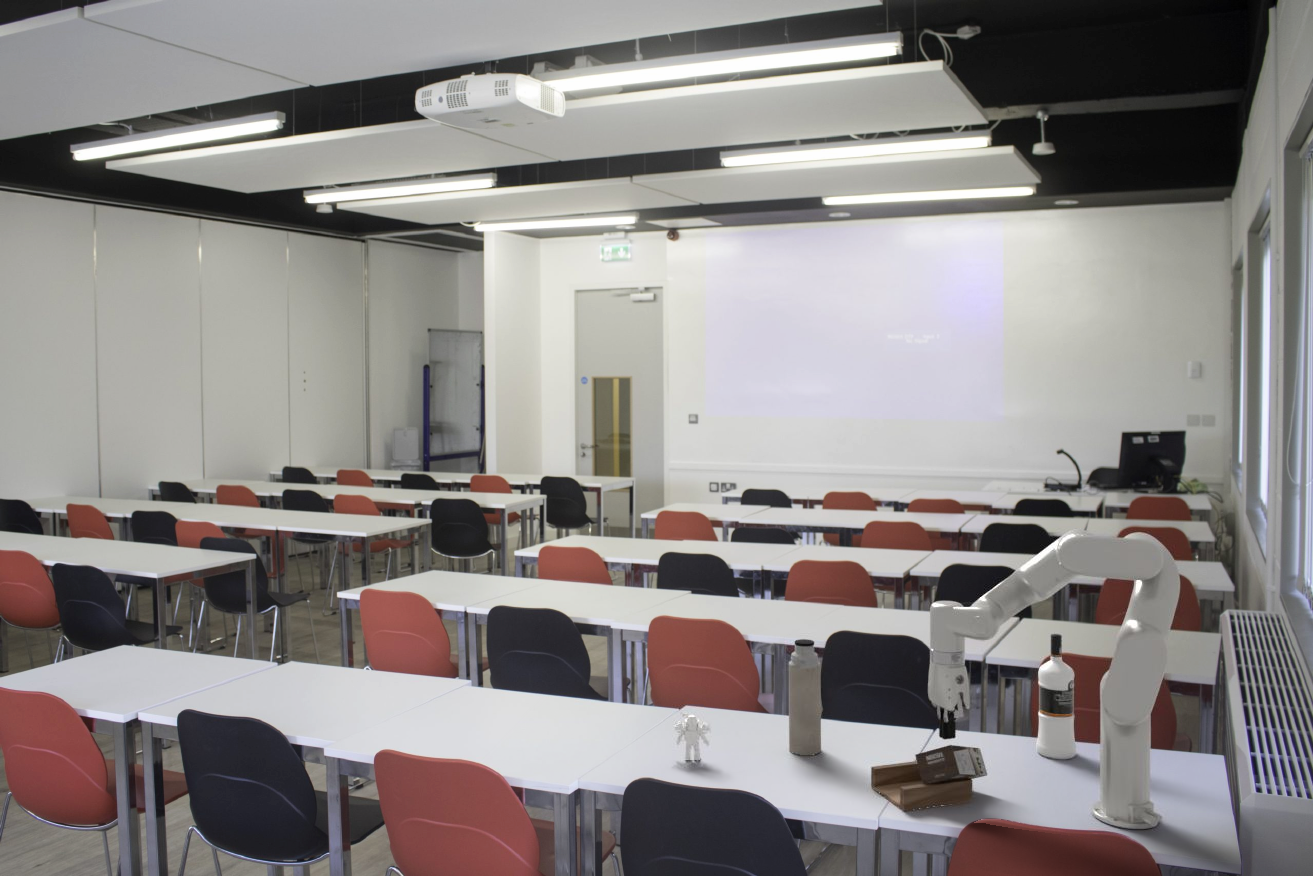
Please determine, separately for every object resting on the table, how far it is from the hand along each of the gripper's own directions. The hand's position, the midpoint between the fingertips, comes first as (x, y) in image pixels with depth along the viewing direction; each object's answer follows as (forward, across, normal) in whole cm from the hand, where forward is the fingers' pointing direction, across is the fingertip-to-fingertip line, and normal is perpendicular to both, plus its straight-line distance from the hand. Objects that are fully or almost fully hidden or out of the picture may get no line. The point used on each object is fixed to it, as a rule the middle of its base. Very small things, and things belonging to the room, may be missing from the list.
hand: (947, 737), depth 220 cm
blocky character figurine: (+12, +37, +48) cm, 62 cm away
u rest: (+12, 0, +7) cm, 14 cm away
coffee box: (+8, +2, -6) cm, 10 cm away
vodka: (+12, +12, -39) cm, 43 cm away
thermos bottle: (+12, +34, +19) cm, 41 cm away
